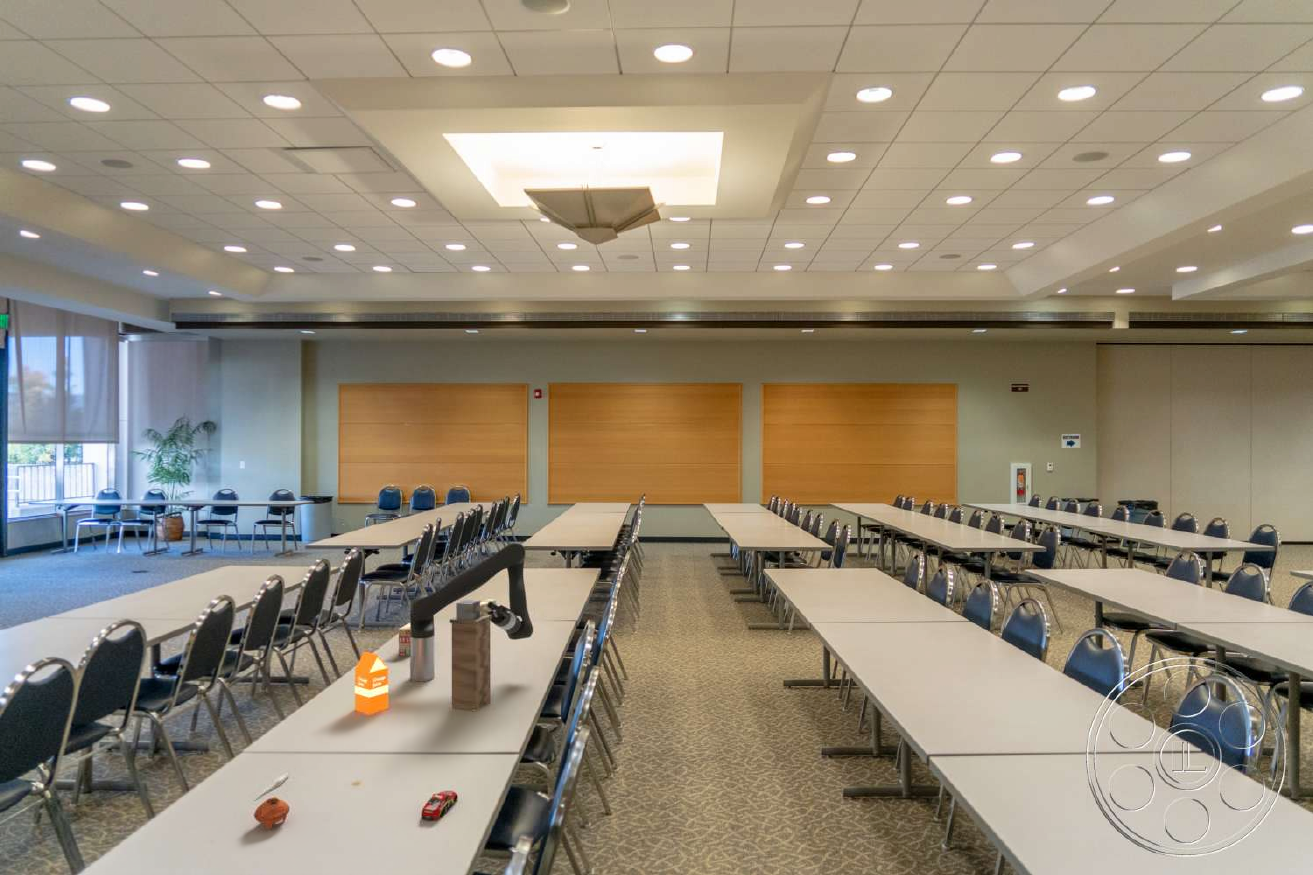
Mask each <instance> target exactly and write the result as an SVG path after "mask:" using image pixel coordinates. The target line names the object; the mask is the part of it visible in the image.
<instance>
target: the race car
mask: <svg viewBox="0 0 1313 875" xmlns="http://www.w3.org/2000/svg"><path fill="white" fill-rule="evenodd" d="M458 797H459V796H458V794H457V792H455V791H453V790H443V791H440V792H438V793H435V794H434V793H433V794H432V796H431V797H430V798H429V800H427V802H426V803H425V804H424V806H423V807H422V809H421V813H420V814H421V817H420V818H421V819H426V820H438V819H440V818H443V817H444V815H445V814H446V813H447V811H449V810H450V809H451V807H452V806H453V805H455V803H456V802H458Z"/></svg>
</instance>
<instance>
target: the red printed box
mask: <svg viewBox="0 0 1313 875" xmlns="http://www.w3.org/2000/svg"><path fill="white" fill-rule="evenodd" d="M399 655H411V628H410V622H408V623H407V624H404V626H402V627H400V628H399V629H398V656H399Z"/></svg>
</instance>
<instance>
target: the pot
mask: <svg viewBox="0 0 1313 875" xmlns="http://www.w3.org/2000/svg"><path fill="white" fill-rule="evenodd" d="M289 812H290V806H289V804H288V803H287V802H286V801H284V800H282V799H279V798H278V797H270V798H267V799H266V800H264V802H262V803H261V804H260V805H258V807H257V808H256V809H255V811H254V813H253V817H254V819H255V820H256V821H257V822H259V823H260V824H263V825H265V826H266V829H267V830H271V829H272V826H273V824H276V823H278V822H280V821H281V820H282V821H283V822H285V821H286V819H287V816H288V813H289Z"/></svg>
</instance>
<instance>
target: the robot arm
mask: <svg viewBox="0 0 1313 875" xmlns="http://www.w3.org/2000/svg"><path fill="white" fill-rule="evenodd" d="M525 559H526V549H525V546H524V545H523V544H521V543H520V542H516V541H515V542H514V541H513V542H510V543H508V544H507V545H505V546H504V547H502V548H501V549H499V551H497V552H495V553H494V554H493V555H491V556H490V557H488V558H486V559H484V560H482V561H480V562H478V563H475V564H474V565H472V566H470V567H467V569H465V570H463V571H461V572H459V574H457V575H455V576H454V577H453V578H451V579H450V580H449V581H448V582H447V583H446V584H445V585H444V586H443V587H441V588H440V589H439V590H436V591H435V592H433V593H431V594H428V595H427V594H419V595H417V596H416V597H414V598H413V599H412V600H411V603H410V608H409V610H410V611H409V613H410V614H409V615H410V617H409V618H410V620H409V621H410V622H409V623H410V628H411V656H409V657H410V658H409V664H410V665H409V679H410V682H412V681H414V682H425V681H427V682H428V681H431V680H433V679H434V678H435V677H436V676H435V674H436V671H435V669H436V668H435V664H436V663H435V661H436V660H435V649H436V648H435V638H436V637H435V633H436V632H435V615H436V614H438V613H439V612H441V611H442V610H443V609H445V608H446V607H448V606H449V605H452V604H453V603H454V602H456V601H458V600H460V599H462V598H464V597H465V596H467V595H469V594H472V592H475V591H476V590H478V589H479V588H481V587H482V586H484V585H485V584H486V583H488V582H489V581H490V580H491V579H492V578H493V577H495V575H497V574H499V573H500V572H501V571H503V570H505V569H506V570H507V575H508V576H507V577H508V598H509V599H508V601H509V608H508V607H506V606H504V605H502V604H497V603H496V604H494V603H492V602H490V601H489V603H488V608H490V609H491V610H492V611H490V612H488V613H485V614H487V615H492V619H490V623H492V624H494V625H495V626H497V627H498V628H499V629H501V630H503V631H505V633H506V634H507V637H508V638H509V639H510V640H515V641H516V640H521V639H528V638H531V637H532V635H533V632H534V627H533V623H532V620H531V618H530V615H529V611H528V600H527V593H526V587H525V581H524V564H525ZM479 601H480V602H482V601H481V600H479ZM520 619H521V620H520Z"/></svg>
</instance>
